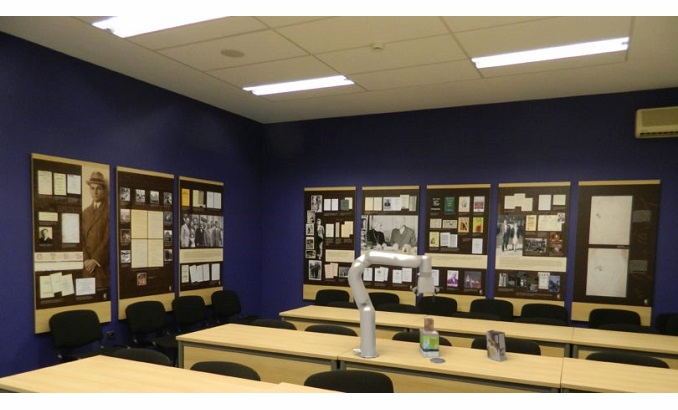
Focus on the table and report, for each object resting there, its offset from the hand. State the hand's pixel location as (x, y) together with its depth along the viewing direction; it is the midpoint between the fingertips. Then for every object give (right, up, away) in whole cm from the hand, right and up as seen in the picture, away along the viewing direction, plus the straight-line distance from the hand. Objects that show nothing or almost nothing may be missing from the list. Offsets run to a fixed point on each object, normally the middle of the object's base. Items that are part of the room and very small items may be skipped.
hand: (426, 302), depth 277 cm
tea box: (+2, -33, -1) cm, 33 cm away
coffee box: (+40, -31, -14) cm, 52 cm away
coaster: (+4, -32, -16) cm, 36 cm away
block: (+2, -18, 0) cm, 18 cm away
